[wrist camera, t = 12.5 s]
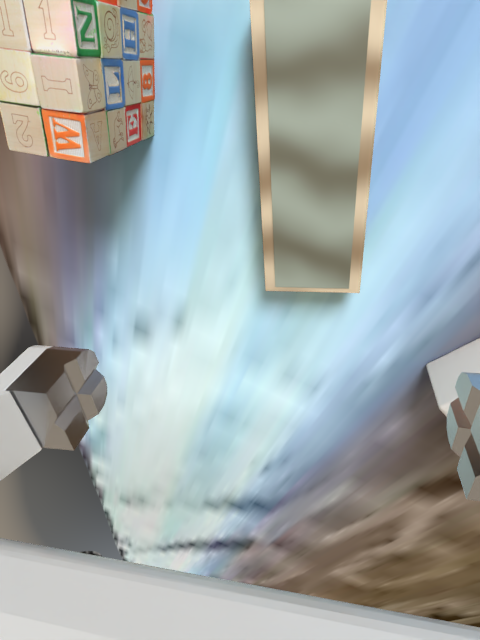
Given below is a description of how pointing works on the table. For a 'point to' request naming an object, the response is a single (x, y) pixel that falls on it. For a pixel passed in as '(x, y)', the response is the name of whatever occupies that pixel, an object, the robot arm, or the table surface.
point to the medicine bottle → (452, 372)
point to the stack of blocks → (76, 76)
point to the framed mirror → (315, 136)
